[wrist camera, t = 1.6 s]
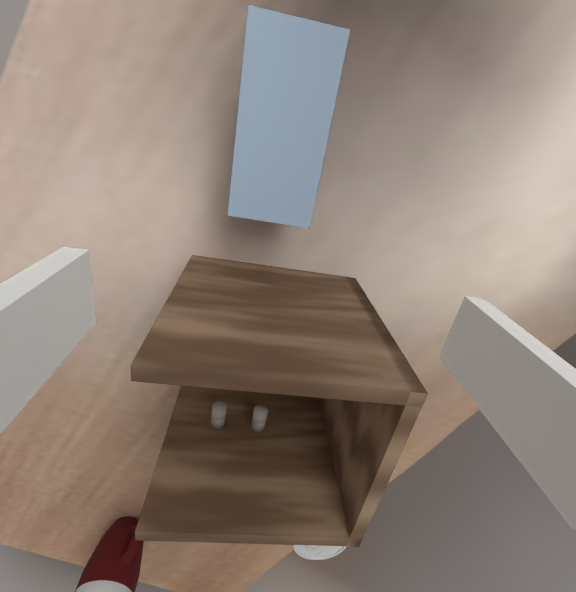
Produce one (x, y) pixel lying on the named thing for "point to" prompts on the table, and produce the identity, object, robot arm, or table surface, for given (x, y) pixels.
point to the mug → (114, 560)
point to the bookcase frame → (273, 407)
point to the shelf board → (284, 115)
